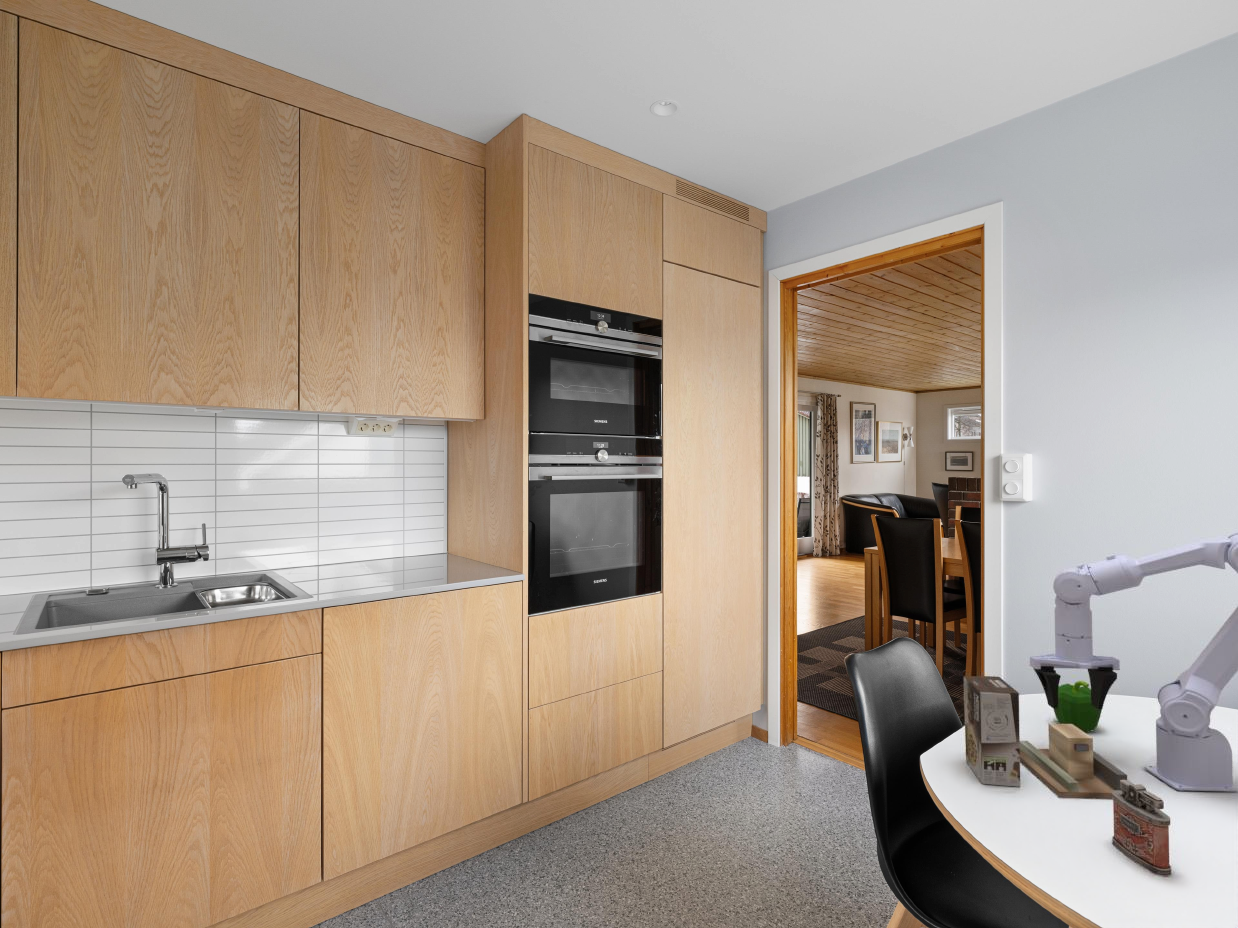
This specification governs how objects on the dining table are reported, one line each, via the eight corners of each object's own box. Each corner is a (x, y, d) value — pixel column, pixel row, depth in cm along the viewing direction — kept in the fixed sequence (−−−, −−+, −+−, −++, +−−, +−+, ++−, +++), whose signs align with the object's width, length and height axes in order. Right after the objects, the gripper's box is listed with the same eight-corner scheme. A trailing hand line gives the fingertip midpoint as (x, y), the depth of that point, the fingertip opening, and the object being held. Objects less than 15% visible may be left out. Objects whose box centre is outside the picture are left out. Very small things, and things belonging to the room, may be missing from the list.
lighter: (1105, 841, 95) (1104, 773, 95) (1127, 840, 95) (1125, 772, 95) (1155, 876, 87) (1154, 802, 87) (1179, 875, 87) (1177, 800, 87)
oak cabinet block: (1072, 762, 117) (1071, 723, 117) (1095, 780, 110) (1095, 739, 110) (1049, 762, 117) (1048, 723, 117) (1070, 780, 111) (1069, 739, 111)
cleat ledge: (1078, 754, 122) (1077, 733, 122) (1137, 799, 106) (1137, 775, 106) (1010, 753, 123) (1010, 732, 123) (1059, 797, 107) (1059, 773, 107)
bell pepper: (1044, 718, 139) (1043, 671, 139) (1086, 719, 138) (1085, 672, 138) (1065, 735, 131) (1064, 685, 131) (1110, 736, 130) (1109, 686, 129)
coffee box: (1022, 787, 111) (1020, 693, 111) (981, 784, 112) (979, 691, 112) (1002, 762, 120) (1000, 675, 120) (964, 760, 121) (962, 674, 121)
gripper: (1042, 639, 118) (1044, 714, 118) (1130, 640, 116) (1131, 716, 116) (1023, 629, 125) (1025, 699, 125) (1105, 630, 123) (1106, 701, 123)
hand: (1074, 706), depth 121 cm, fingers open, 7 cm apart
